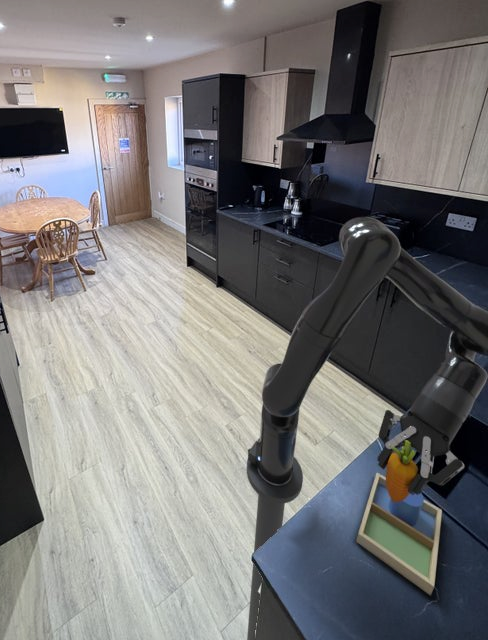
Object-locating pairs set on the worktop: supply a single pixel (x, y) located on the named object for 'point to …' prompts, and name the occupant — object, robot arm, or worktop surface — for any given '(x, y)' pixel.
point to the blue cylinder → (407, 508)
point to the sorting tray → (402, 537)
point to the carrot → (400, 472)
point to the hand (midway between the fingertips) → (395, 479)
